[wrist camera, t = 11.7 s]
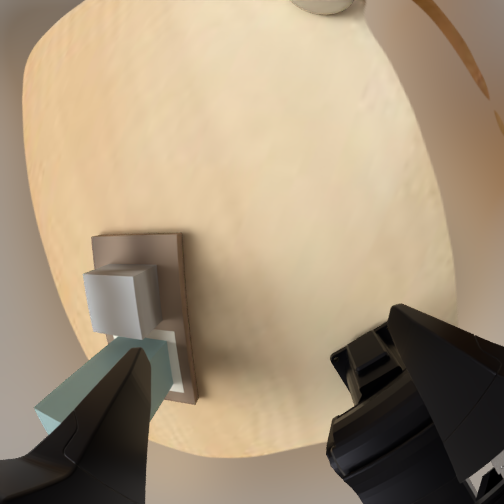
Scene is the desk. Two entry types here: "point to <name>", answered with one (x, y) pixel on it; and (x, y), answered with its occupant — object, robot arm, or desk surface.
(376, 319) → the desk surface
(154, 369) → the pillar block
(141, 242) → the base plate
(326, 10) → the silver ribbed bottle
